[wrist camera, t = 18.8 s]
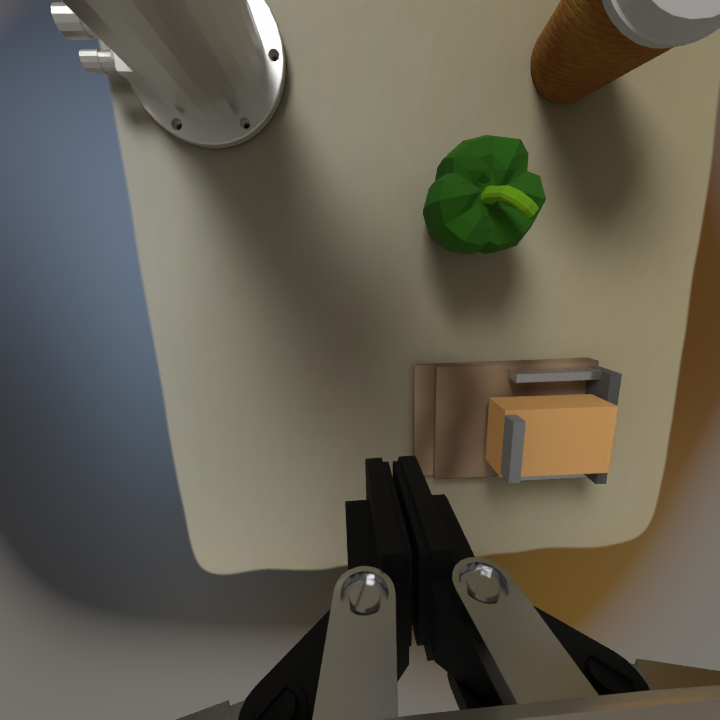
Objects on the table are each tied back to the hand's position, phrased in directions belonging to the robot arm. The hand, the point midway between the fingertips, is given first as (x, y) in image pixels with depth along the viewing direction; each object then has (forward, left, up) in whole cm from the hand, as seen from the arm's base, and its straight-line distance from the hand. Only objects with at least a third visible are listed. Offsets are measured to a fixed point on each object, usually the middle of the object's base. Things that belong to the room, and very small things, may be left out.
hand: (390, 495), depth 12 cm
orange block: (+17, -8, -22) cm, 29 cm away
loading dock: (+14, -7, -24) cm, 29 cm away
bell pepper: (+9, +13, -24) cm, 29 cm away
